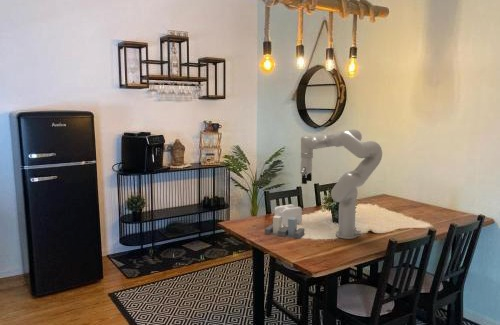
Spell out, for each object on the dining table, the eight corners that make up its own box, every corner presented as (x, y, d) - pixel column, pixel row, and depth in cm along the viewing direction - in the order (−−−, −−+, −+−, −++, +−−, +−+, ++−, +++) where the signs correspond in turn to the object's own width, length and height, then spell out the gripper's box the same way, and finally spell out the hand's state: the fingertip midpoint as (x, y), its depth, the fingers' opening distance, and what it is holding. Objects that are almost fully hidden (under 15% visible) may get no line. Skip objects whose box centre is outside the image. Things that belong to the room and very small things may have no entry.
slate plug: (296, 234, 234) (296, 218, 232) (294, 236, 230) (294, 219, 228) (290, 233, 235) (290, 217, 234) (288, 235, 232) (288, 219, 230)
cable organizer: (282, 227, 249) (282, 210, 247) (274, 223, 258) (274, 206, 257) (302, 224, 256) (302, 206, 254) (293, 220, 265) (293, 203, 263)
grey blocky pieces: (305, 235, 234) (305, 228, 234) (300, 240, 225) (300, 234, 225) (270, 230, 244) (270, 224, 244) (263, 235, 236) (263, 228, 235)
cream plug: (275, 231, 239) (275, 215, 238) (281, 232, 238) (281, 216, 236) (273, 233, 236) (272, 217, 234) (279, 234, 234) (279, 218, 233)
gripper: (305, 153, 256) (305, 179, 259) (296, 157, 241) (296, 184, 243) (316, 154, 253) (316, 180, 255) (308, 157, 237) (308, 185, 240)
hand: (306, 182), depth 249 cm, fingers open, 9 cm apart
